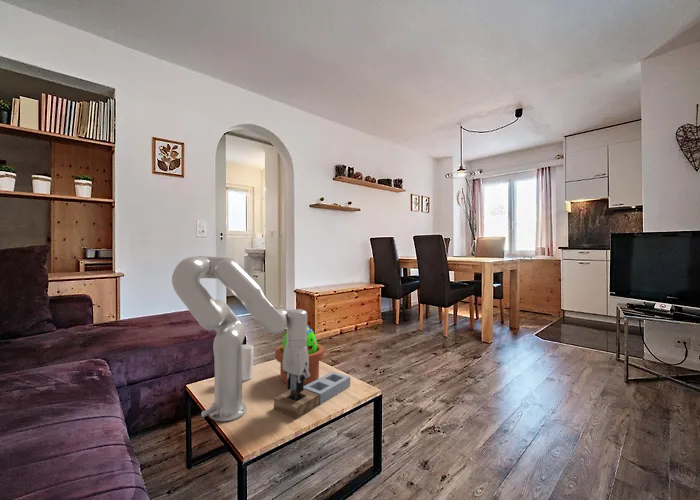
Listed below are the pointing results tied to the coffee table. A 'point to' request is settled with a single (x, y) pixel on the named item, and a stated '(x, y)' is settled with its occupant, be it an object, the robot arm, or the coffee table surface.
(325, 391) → the peg rack
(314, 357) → the potted cactus
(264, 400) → the coffee table surface
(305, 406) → the socket block
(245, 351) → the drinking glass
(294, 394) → the metal peg
